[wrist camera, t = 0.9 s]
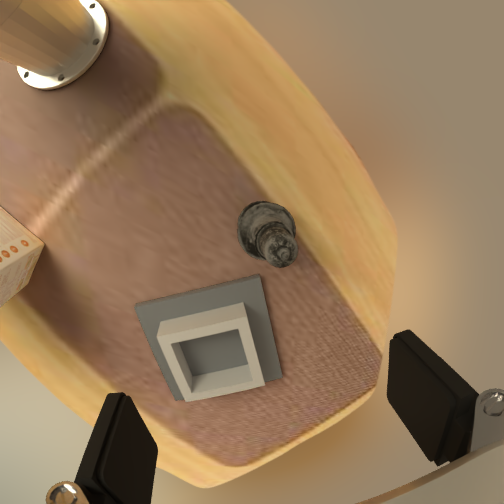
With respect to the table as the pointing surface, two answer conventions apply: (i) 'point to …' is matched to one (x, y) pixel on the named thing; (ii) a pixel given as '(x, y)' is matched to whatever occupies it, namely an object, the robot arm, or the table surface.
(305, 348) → the table surface
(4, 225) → the coffeecake box
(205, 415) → the table surface
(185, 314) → the socket
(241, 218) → the grey turned piece
